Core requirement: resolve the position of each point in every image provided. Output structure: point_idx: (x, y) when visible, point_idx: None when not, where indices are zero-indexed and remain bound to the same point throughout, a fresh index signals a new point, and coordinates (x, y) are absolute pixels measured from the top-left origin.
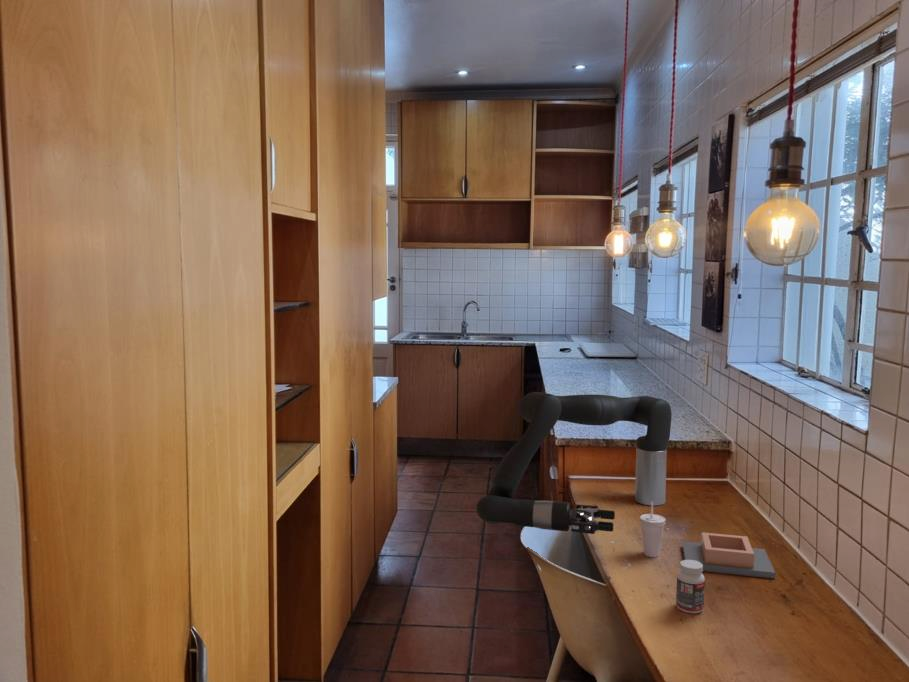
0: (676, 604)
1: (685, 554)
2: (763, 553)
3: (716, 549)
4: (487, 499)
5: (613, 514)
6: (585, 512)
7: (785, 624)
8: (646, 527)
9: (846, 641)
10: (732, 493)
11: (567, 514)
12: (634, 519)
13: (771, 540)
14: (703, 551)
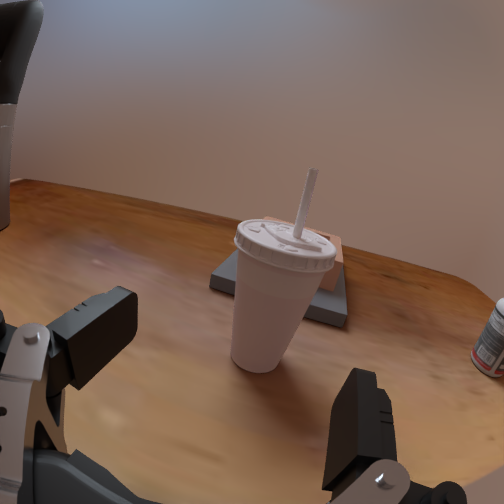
0: (500, 374)
1: None
2: None
3: (338, 254)
4: None
5: (133, 309)
6: (42, 490)
7: (453, 301)
8: (315, 281)
9: (450, 283)
10: (53, 185)
11: None
12: (11, 276)
13: (205, 217)
14: None
